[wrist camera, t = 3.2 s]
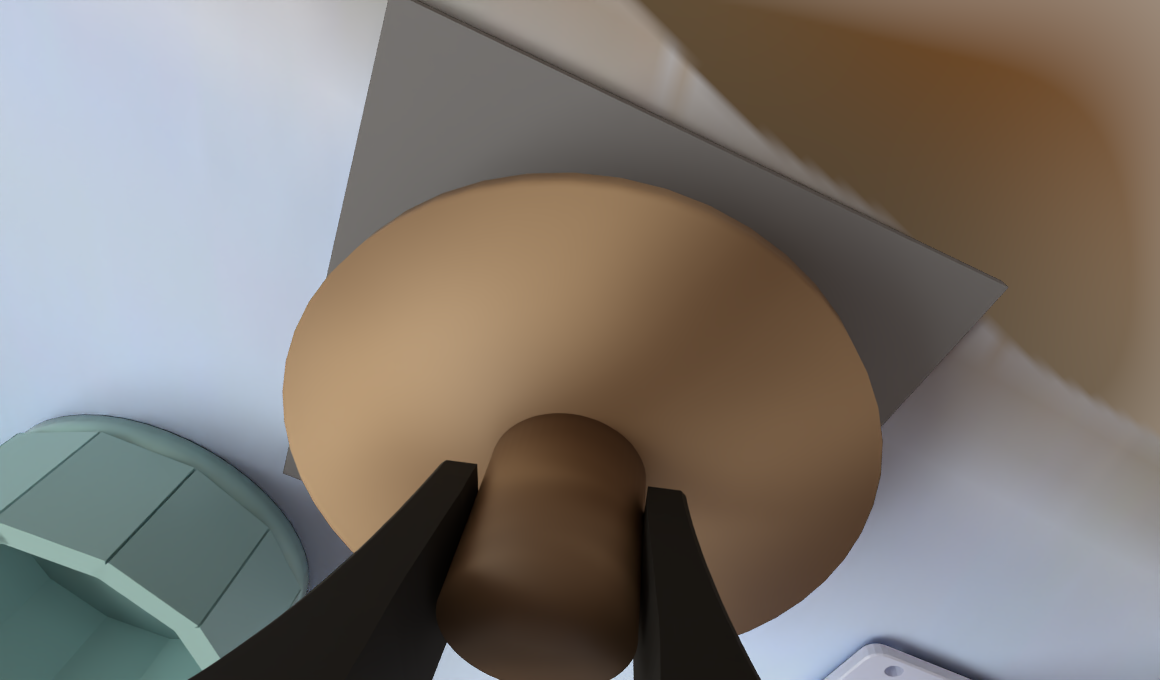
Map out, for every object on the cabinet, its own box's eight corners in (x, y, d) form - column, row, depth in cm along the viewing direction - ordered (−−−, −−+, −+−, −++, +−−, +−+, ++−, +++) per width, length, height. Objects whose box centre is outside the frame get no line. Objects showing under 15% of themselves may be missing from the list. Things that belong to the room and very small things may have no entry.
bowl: (334, 496, 18) (258, 616, 15) (284, 666, 23) (219, 784, 20) (-8, 363, 17) (-175, 459, 14) (17, 570, 22) (-100, 678, 19)
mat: (1001, 281, 13) (1008, 287, 12) (692, 623, 19) (692, 632, 19) (396, -10, 11) (389, -10, 11) (288, 466, 18) (282, 473, 18)
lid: (1015, 347, 11) (1187, 536, 7) (689, 682, 17) (695, 877, 13) (368, 47, 10) (186, 91, 6) (268, 521, 16) (146, 686, 12)
